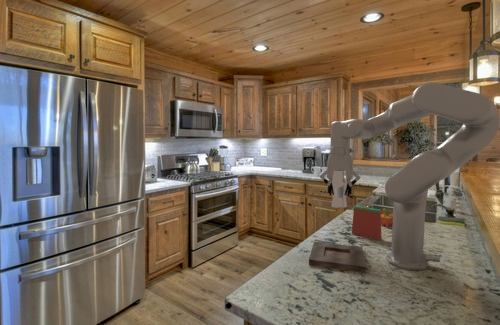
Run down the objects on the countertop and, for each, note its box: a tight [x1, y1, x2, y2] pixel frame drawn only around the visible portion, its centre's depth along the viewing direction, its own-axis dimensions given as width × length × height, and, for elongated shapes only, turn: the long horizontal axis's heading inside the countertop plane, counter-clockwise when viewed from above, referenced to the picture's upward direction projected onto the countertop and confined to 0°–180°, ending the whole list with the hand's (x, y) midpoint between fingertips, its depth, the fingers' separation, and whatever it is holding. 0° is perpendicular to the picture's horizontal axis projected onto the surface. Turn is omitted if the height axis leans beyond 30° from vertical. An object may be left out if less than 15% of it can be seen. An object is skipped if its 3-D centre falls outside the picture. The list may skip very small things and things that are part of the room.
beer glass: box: [331, 171, 348, 209], centre depth 113 cm, size 7×7×15 cm
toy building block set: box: [351, 205, 393, 241], centre depth 134 cm, size 12×35×14 cm, turn 135°
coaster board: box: [308, 241, 367, 274], centre depth 99 cm, size 18×18×2 cm
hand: (339, 195), depth 113 cm, fingers closed on beer glass, 6 cm apart
